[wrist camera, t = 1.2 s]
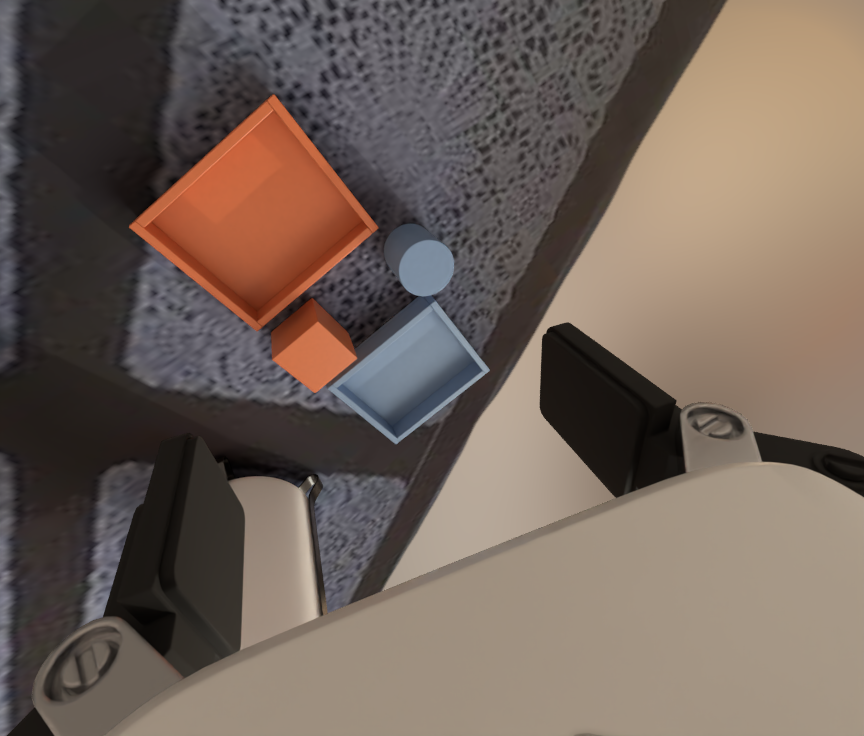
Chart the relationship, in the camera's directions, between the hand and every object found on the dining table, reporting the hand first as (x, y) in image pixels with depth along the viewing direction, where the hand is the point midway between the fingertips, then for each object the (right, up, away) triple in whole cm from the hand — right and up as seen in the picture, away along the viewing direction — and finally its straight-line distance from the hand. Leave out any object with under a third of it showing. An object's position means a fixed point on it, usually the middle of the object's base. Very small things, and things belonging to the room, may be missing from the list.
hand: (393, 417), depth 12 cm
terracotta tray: (-11, +12, +19) cm, 25 cm away
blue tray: (-1, +2, +30) cm, 30 cm away
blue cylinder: (-1, +11, +24) cm, 27 cm away
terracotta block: (-9, +4, +25) cm, 27 cm away
